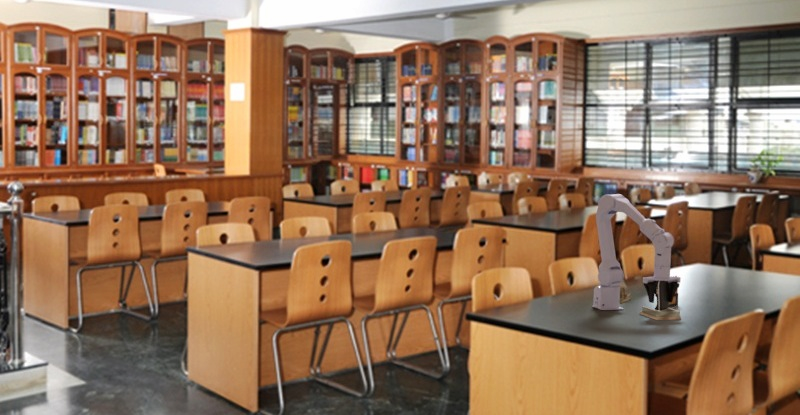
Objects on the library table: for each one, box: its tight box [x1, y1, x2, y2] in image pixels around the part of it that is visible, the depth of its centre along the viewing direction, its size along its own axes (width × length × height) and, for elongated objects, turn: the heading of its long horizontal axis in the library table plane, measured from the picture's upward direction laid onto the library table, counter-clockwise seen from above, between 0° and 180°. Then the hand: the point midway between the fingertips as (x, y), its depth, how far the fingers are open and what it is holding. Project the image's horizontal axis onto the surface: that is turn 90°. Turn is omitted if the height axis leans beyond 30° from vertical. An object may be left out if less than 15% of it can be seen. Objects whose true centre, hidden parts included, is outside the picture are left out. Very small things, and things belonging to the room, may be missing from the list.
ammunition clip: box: [669, 275, 679, 308], centre depth 361 cm, size 11×2×12 cm, turn 136°
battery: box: [653, 281, 669, 311], centre depth 339 cm, size 7×4×11 cm, turn 138°
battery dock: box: [638, 306, 682, 321], centre depth 340 cm, size 10×12×3 cm
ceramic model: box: [619, 279, 632, 304], centre depth 373 cm, size 14×11×10 cm
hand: (660, 302), depth 339 cm, fingers closed on battery, 7 cm apart
